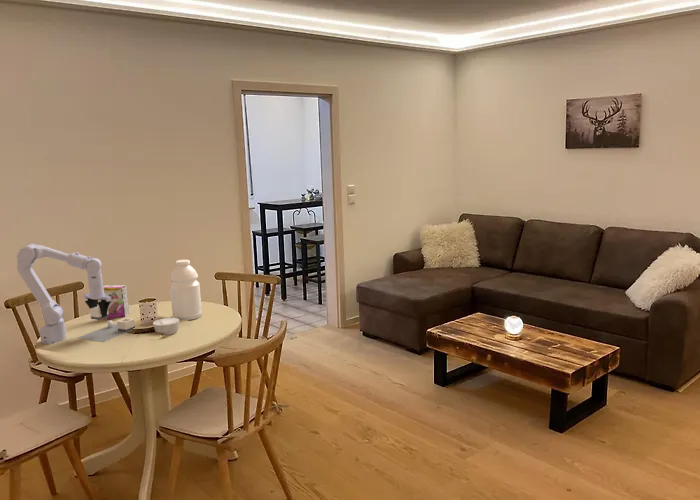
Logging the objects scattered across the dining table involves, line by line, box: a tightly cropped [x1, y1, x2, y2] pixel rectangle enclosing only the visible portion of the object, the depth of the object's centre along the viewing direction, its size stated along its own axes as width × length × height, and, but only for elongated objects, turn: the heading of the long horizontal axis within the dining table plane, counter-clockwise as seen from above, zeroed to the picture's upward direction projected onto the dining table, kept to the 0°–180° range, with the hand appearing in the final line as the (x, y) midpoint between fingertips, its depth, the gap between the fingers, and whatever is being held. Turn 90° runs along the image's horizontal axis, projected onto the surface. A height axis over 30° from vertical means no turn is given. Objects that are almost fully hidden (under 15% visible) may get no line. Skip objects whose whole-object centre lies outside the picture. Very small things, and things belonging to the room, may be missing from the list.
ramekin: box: [152, 317, 180, 337], centre depth 256 cm, size 11×11×5 cm
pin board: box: [76, 320, 133, 343], centre depth 253 cm, size 20×16×4 cm
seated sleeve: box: [116, 317, 136, 333], centre depth 256 cm, size 5×5×4 cm
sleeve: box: [89, 305, 109, 321], centre depth 250 cm, size 5×5×4 cm
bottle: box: [169, 259, 203, 321], centre depth 276 cm, size 14×14×28 cm
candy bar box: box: [103, 284, 131, 321], centre depth 278 cm, size 11×5×16 cm, turn 84°
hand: (99, 315), depth 251 cm, fingers closed on sleeve, 5 cm apart
